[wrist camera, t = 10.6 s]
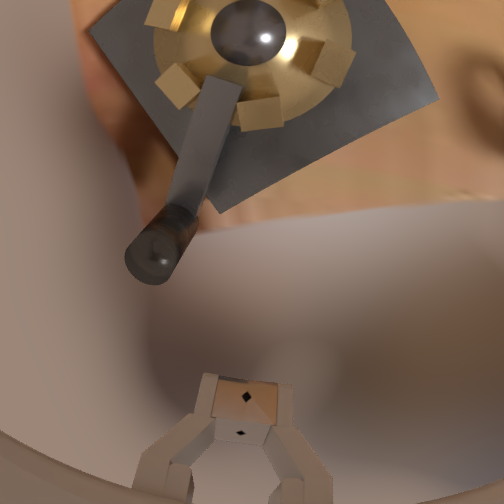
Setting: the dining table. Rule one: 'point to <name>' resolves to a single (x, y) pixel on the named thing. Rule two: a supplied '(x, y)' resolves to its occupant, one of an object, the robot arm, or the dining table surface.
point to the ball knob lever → (232, 93)
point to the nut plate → (294, 131)
